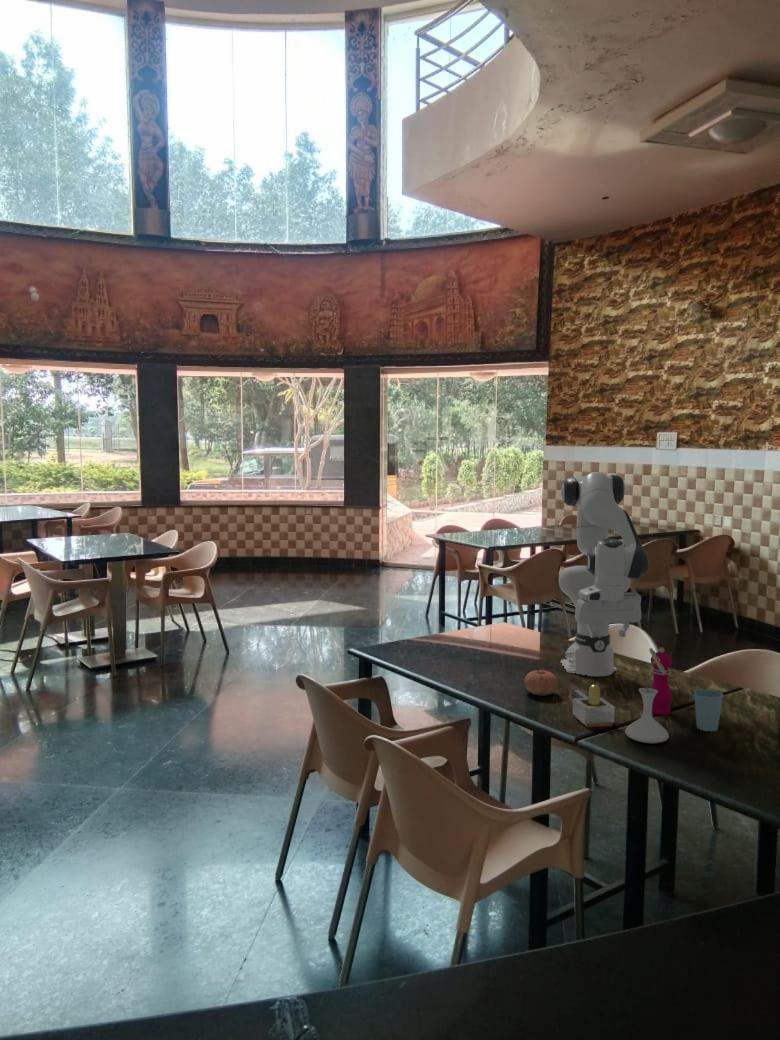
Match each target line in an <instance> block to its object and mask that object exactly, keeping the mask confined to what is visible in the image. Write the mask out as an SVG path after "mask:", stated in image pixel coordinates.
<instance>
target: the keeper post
mask: <svg viewBox="0 0 780 1040" xmlns="http://www.w3.org/2000/svg"><path fill="white" fill-rule="evenodd" d="M588 697H589V703H588V706H600V697H601V689H600V686H599V685H597V684H591V685H590V686H589V688H588ZM574 717H575V718H574V719H576V720H577V719H578V720H579V721H578V720H577V721H578V722H580V723H581V724H582V725H583V726H584V725H585V726H584V727H586V728H596V727H612V726H613V724H614V722H607V723H587V724H585V723H583V722H582V721H581V720H580V719H579V718H577V717H576V716H575V715H574Z"/></svg>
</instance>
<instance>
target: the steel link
mask: <svg viewBox="0 0 780 1040" xmlns="http://www.w3.org/2000/svg"><path fill="white" fill-rule="evenodd" d="M588 703H589V696H587V695H586V693H583V692H582V691H581V690H580V689H575V690H573V698H572V714H573V715H574V717H575V716H576V717H577V718H579V719H580V720H581V721H582V722H583V723H585V724H587V723H607V722H613V723H615V712H616V711H615V709H616V707H615V706H614V705H612V704H611V703H610V702H609V701H607V700H606V699H604V698H603V697H601V696H600V706H588Z"/></svg>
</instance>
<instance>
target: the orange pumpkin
mask: <svg viewBox="0 0 780 1040" xmlns="http://www.w3.org/2000/svg"><path fill="white" fill-rule="evenodd" d="M523 682H524V687H525V688H526V690H527V691H528V692H529V693H530V694H533V695H535V696H539V697H541V696H542V697H543V696H544V697H545V696H548V695H551V694H553V693H554V692H556V690H557V689H558V686H559V685H558V684H559V683H558V682H559V681H558V678H557V677H556V675H555V674H554V673H553V672H551V671H548V670H543V669H538V670H537V669H536V670H532V671H530V672H528V673H527V674H526V675H525V677H524V680H523Z"/></svg>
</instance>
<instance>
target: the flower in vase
mask: <svg viewBox="0 0 780 1040" xmlns="http://www.w3.org/2000/svg"><path fill="white" fill-rule="evenodd" d="M649 653H650V655H651V657H653V659H654V660H653V663H652V664H651V665H650V666H649V669H648V670H647V673H645V677H646V683H644V684H643V685H644V686H645V685H646V687H642V688H641V687H640V688H638V692H639V693H640V694H641V697H642V705H643V709H642V715H641V717H640V718H638V719H637V720H635V721H633V722H632V723H629V725H628V726H627V727H626V729H625V731H624V732H625V734H626V736H627V737H628V738H629V739H632V740H634V741H636V742H639V743H640V742H641V743H644V744H659V743H664V742H666V741H667V740H668V739H669V737H670V736H669V732H668V731H667V729H665V727H663V725H661V724H660V723H659V722H658V721H657V720H656V719H655V718H654V717H653V713H652V703H653V699H654V697H655V695H656V694H657V693H658V691H657V690H655V689H651V688H650V687H649V685H652V683H653V679H652V680H651V678H650V677H649V674H650V671H651V670H652V667H653V664H657V666H658V668H659V669H660V670H661V672H662V673H663V674H665V673H666V671H665V670H664V669H665V668H664V667H663V666H662V664H661V663H660V659H659V658H658V657H657V656H656V651H655V650H654V649H653V647H650V648H649Z"/></svg>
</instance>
